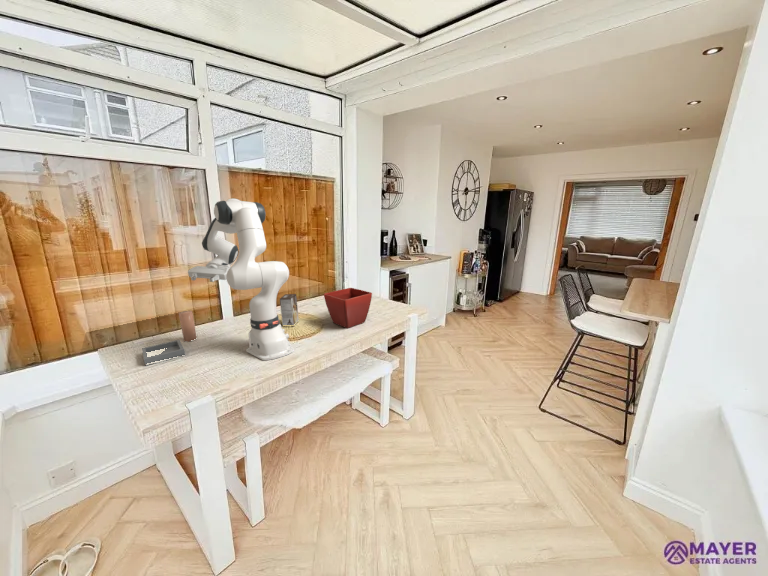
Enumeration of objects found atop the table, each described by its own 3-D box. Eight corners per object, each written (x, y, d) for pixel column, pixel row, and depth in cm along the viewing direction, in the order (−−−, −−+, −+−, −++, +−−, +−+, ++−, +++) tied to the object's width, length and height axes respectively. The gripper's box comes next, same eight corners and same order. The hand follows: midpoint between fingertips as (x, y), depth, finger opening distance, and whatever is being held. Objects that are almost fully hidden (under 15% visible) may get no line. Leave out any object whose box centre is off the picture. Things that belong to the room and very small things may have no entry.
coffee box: (287, 321, 178) (284, 293, 174) (299, 321, 178) (296, 293, 174) (282, 327, 169) (279, 298, 166) (294, 327, 169) (291, 298, 165)
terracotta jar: (197, 339, 156) (192, 312, 152) (185, 342, 152) (179, 315, 149) (195, 336, 160) (190, 309, 157) (183, 339, 157) (177, 312, 153)
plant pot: (352, 314, 187) (350, 287, 183) (373, 322, 174) (372, 292, 170) (324, 323, 174) (322, 293, 170) (346, 332, 161) (344, 300, 157)
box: (185, 355, 139) (184, 349, 138) (145, 366, 130) (143, 359, 129) (180, 345, 150) (179, 339, 149) (143, 354, 141) (141, 348, 140)
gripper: (195, 261, 172) (180, 272, 160) (232, 264, 172) (220, 275, 160) (197, 272, 175) (182, 283, 163) (234, 275, 175) (222, 286, 163)
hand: (201, 279), depth 162 cm, fingers open, 8 cm apart
